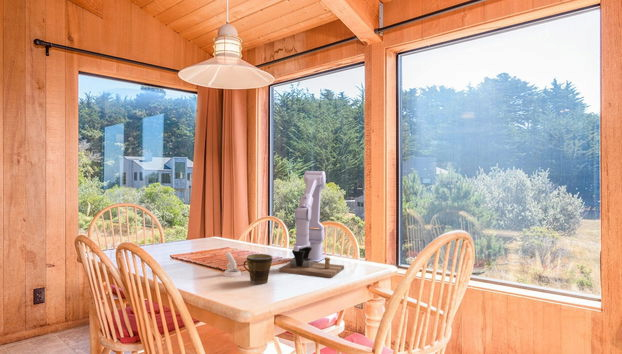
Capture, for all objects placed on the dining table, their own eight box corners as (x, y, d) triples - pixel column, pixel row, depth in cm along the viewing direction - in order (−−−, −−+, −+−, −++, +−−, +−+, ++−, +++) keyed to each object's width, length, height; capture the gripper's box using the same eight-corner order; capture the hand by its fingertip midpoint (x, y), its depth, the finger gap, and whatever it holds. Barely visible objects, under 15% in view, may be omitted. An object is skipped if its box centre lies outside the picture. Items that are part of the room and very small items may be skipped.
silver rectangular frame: (295, 263, 184) (295, 256, 184) (313, 265, 181) (313, 258, 181) (290, 265, 179) (290, 259, 179) (308, 268, 176) (309, 261, 176)
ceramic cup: (259, 277, 164) (260, 252, 164) (277, 282, 157) (277, 256, 157) (234, 283, 154) (235, 257, 153) (252, 288, 147) (253, 261, 147)
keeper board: (295, 263, 191) (295, 250, 191) (344, 268, 182) (344, 255, 182) (278, 271, 174) (279, 257, 174) (331, 277, 165) (331, 263, 165)
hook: (213, 265, 160) (217, 253, 166) (224, 285, 167) (228, 272, 172) (230, 262, 159) (234, 250, 165) (241, 282, 165) (244, 270, 171)
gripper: (300, 231, 188) (299, 260, 188) (287, 235, 174) (286, 267, 175) (314, 232, 185) (313, 262, 186) (302, 237, 172) (301, 268, 172)
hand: (301, 264), depth 180 cm, fingers closed on silver rectangular frame, 6 cm apart
